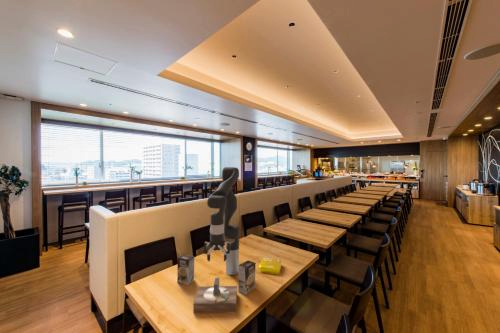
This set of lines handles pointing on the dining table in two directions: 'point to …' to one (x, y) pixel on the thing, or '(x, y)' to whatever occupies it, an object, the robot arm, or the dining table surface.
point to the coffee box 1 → (185, 269)
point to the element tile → (270, 266)
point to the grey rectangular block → (216, 288)
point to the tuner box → (223, 300)
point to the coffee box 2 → (246, 277)
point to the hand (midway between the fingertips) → (217, 260)
